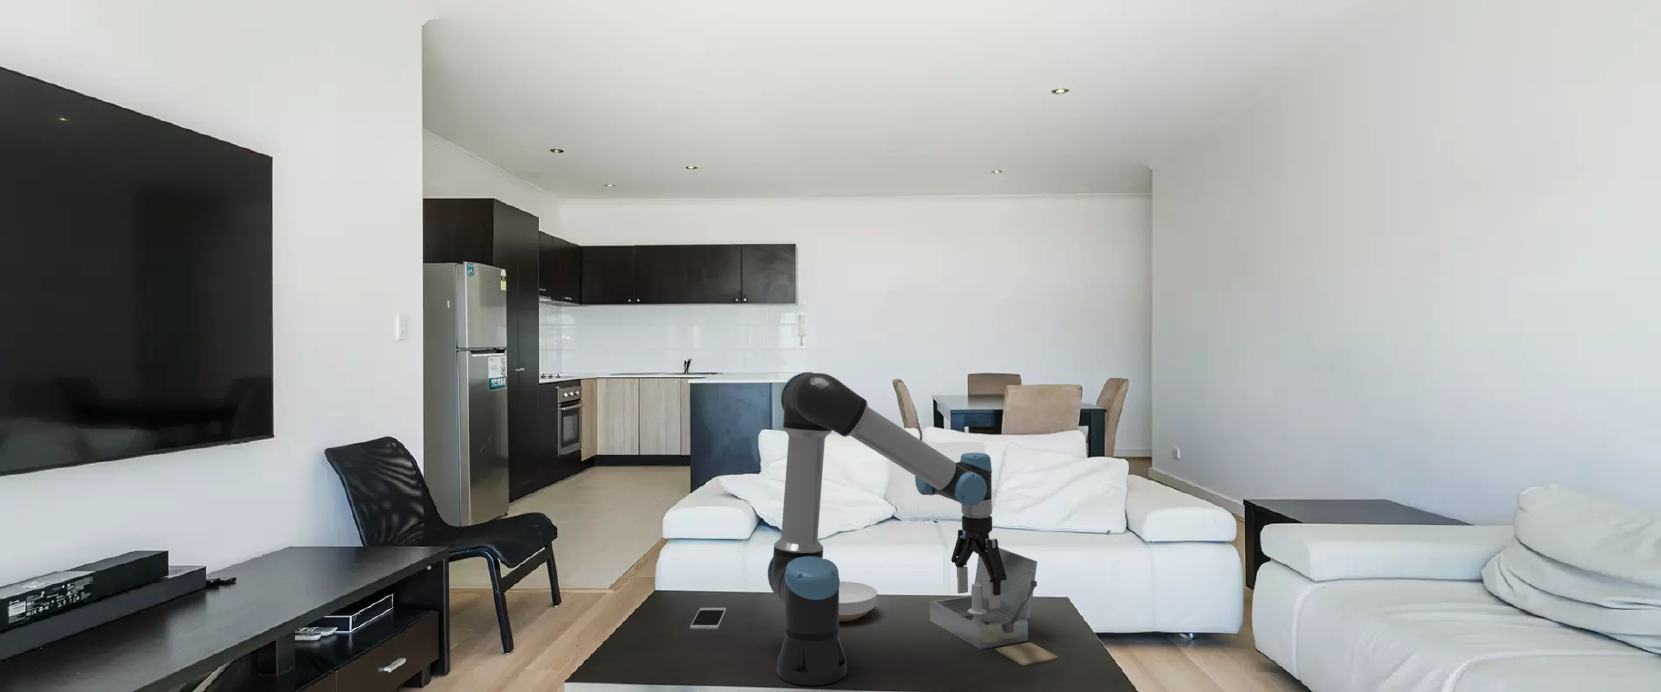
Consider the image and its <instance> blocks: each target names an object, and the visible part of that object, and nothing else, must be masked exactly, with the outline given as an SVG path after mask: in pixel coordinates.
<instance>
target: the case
mask: <svg viewBox="0 0 1661 692" xmlns="http://www.w3.org/2000/svg"><path fill="white" fill-rule="evenodd" d="M998 549H999V552H1000V556H1001V559H1002V563H1003V566H1004V570H1005V573H1006V576H1007V579H1006V580H1003V581H1001V594H1000V607H999V608H993V609H990V608H989V581H990V576H989V574H988V572H987V569H986V567H985V565H984V562H983V560H982V558H981V557H979V555H978V558H977V566H976V571H975V578H974V584H975V583H977V582H978V583H979V584H981V585H982V586H983V598H982V609H984V610H986V611H987V612H986V613H985V614H983V615H982V616H981V619H982V621H983V622H984V621H985V622H986V623H988V624H985V625H983V626H980V625H978V624H976V623H974V622H972V620H970V619H969V618H967V617H971V616H973V615H972V614H970V613H969V612H968V609H971V608H972V594H970V595H963V596H957V597H951V598H944V599H936V600H930V601H929V621H930V622H932V623H933V624H935V625H936V626H938V627H940V628H942V629H944V630H945V631H947V632H949V633H951V634H953V635H954V636H956V637H957V638H960V640H962V641H965V642H966V643H967V644H970V645H972V647H973V646H974V647H975V648H977V649H978V650H983V649H988V648H989V649H990V648H994V647H1000V646H1005V645H1011V644H1012V645H1013V644H1017V643H1023V642H1026V641H1028V640H1029V632H1028V631H1029V621H1030V618H1031V610H1032V603H1033V595H1034V589H1035V588H1037V587H1038V582H1037V581H1036V574H1037V566H1038V561H1037V560H1034V559H1032V558H1029V557H1026V556H1024V555H1020V554H1018V553H1015V552H1013V551H1009V550H1006V549H1004V548H1001V547H998ZM986 551H987V550H986ZM994 577H995V575H994Z"/></svg>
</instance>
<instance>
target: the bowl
mask: <svg viewBox="0 0 1661 692" xmlns="http://www.w3.org/2000/svg"><path fill="white" fill-rule="evenodd" d="M839 581H840V580H839ZM877 599H878V590H877V589H876V588H875V587H873V586H871V585H869V584H865V583H861V582H855V581H847V580H846V581H844V580H843V581H842V580H841V581H840V585H839V623H840V622H852V621H856V620H859V619H860V618H861V617H863V616H866V615H867V614H868V613H869V612H871V610H873V609H874V607H875V606H876V603H877Z"/></svg>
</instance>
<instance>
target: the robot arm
mask: <svg viewBox="0 0 1661 692" xmlns="http://www.w3.org/2000/svg"><path fill="white" fill-rule="evenodd" d="M780 404H781V408H782V410H783V423H782V428H783V430H784V431H785V433H786V434H787V435H788V439H787V440H788V441H787V453H786V454H787V458H786V468H785V469H786V471H785V483H784V496H783V510H782V521H781V522H782V523H781V535H780V536H781V537H780V538H779V539H778V540H777V541H776V542H774V545H773V554H772V555H773V556H772V558H771V559H770V561H769V564H768V567H767V579H768V583H769V586H770V588H771V590H772V593H773V594H774V595H776V597H777V598H778V599H779V600H780V602H781V603H782V604H783V605H784V608H785V609H784V611H785V612H784V613H785V616H784V617H785V623H784V624H785V625H784V626H785V627H784V628H785V631H784V633H785V634H784V639H783V642H782V645H781V649H780V652H779V655H778V657H777V661H776V673H777V675H778V676H777V677H779V678H780V679H781V680H783V681H785V682H788V683H790V684H795V685H799V686H800V685H801V686H823V685H828V684H832V683H836V682H838V681H840V680H842V679H844V677H846V675H847V671H848V669H847V668H848V663H847V658H846V654H845V651H844V649H843V645H842V641H841V638H840V629H839V627H840V622H839V585H840V575H839V574H840V573H839V569H838V567H837V565H836V564H835V563H834V562H833V561H831V560H829V559H827V558H824V556H823V555H824V546H823V545H822V543H821V542H820V541H819V539H818V538H819V525H820V524H819V523H820V512H821V511H820V510H821V499H822V498H821V497H822V496H821V495H822V483H823V470H824V469H823V468H824V456H825V455H824V454H825V453H824V452H825V441H826V438H827V436H829V435H830V434H831V433H832V432H834V433H837V434H839V435H840V436H841V437H844V438H845V437H852V438H853V439H855V440H856V441H858V442H860V443H862V444H863V445H865V446H866V447H868V448H869V449H871V450H873V451H874V452H877V453H878V454H879V455H880V456H883V457H884V458H886V459H887V460H889V461H891V462H892V463H894V464H895V465H897V466H899V467H901V468H902V469H903V470H905V471H906V472H909V473H910V474H911V475H913V476H914V477H915V478H914V479H915V480H914V481H915V487H916V490H917V491H918V493H919V494H921V496H923V495H924V496H933V495H939V496H941V497H943V498H946V499H948V500H949V499H950V500H953V501H955V502H957V503H959V504H961V514H963V515H962V516H961V529H958V530H957V539H956V542H955V545H954V549H953V552H952V556H951V559H950V561H951V563H952V564H954V565H955V567H956V578H957V581H956V582H957V593H958V594H965V593H969V578H968V577H969V575H968V574H969V569H968V566H967V565H968V561H969V560H970V558H971V556H972V555H973V553H975V554H976V555H978V556H979V557H981V558H982V560H983V562H984V565H985V567H986V569H987V572H988V574H989V576H990V581H989V608H990V609H993V608H999V607H1000V594H1001V581H1003V580H1006V579H1007V576H1006V573H1005V570H1004V566H1003V563H1002V559H1001V556H1000V552H999V549H998V548H999V541H998V539H997V538H990V536H989V535H990V533H991V532H992V530H993V516H992V513H993V507H992V506H993V505H992V502H993V501H992V500H993V499H992V498H993V497H992V495H993V492H992V490H993V489H992V486H993V484H992V482H993V481H992V479H993V478H992V477H993V476H992V473H993V469H992V468H993V467H992V460H991V456H990V455H989V454H987V453H984V452H965V453H961V455H960V460H959V461H958V462H955V461H954V460H952V459H950V458H949V457H948V456H946V455H945V454H943V453H941V452H939V451H938V450H936V449H935V448H933V447H931V445H929V444H927V443H926V442H924V441H922V440H921V439H919V438H918V437H917V436H915V435H913V434H912V433H910V432H908V431H907V430H905V429H903V428H902V427H901V426H899V425H898V424H896V423H894V422H893V421H891V420H889V419H888V418H887V417H885V416H883V415H882V414H881V413H879V412H877V411H875V410H874V409H873V408H871V407H869V403H868V401H867V399H865V398H863V397H862V396H860V395H859V394H857V393H856V392H855V391H853V390H852V389H851V388H849V387H848V386H847V385H845V384H844V383H842V382H841V381H840V380H838V379H837V378H835V377H834V376H832V375H830V374H826V373H822V372H821V373H820V372H817V373H816V372H811V371H809V372H807V371H805V372H801V373H800V372H799V373H798V374H796V375H794V376H792V377H790V378H788V379H787V381H786V382H785V384H784V385H783V387H782V390H781V393H780ZM986 550H987V551H986ZM994 575H995V577H994Z"/></svg>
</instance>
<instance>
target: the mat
mask: <svg viewBox="0 0 1661 692" xmlns="http://www.w3.org/2000/svg"><path fill="white" fill-rule="evenodd" d="M995 651H996V652H997V653H1000V654H1001V655H1003V656H1005V657H1007V658H1008V659H1011V660H1012V661H1014V662H1016V663H1018V664H1019V665H1021V666H1028V665H1032V664H1037V663H1042V662H1047V661H1053V660H1058V659H1059V656H1058V655H1056V654H1054V653H1052V652H1050V651H1048V650H1046V649H1045V648H1042V647H1040V646H1038V645H1036V644H1034V643H1033V642H1030V641H1029V642H1024V643H1023V642H1022V643H1018V644H1017V643H1016V644H1014V645H1013V644H1012V645H1009V646H1008V645H1007V646H1002V647H997V648H995Z"/></svg>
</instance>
